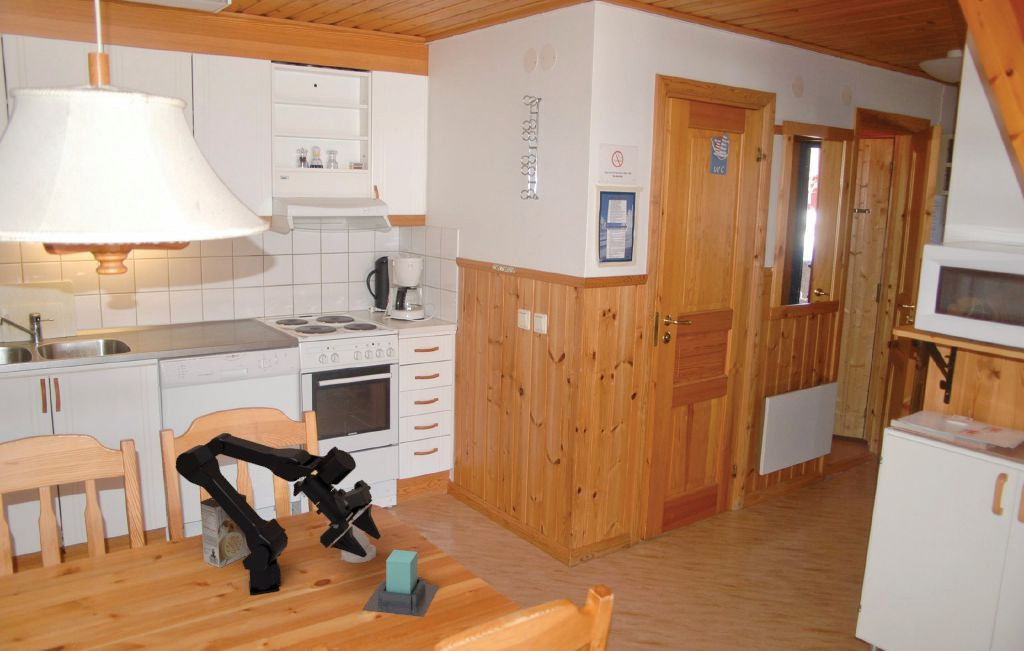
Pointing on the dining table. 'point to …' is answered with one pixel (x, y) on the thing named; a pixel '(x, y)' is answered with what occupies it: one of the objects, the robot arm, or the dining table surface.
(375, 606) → the socket holder
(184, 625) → the dining table surface
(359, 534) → the wall hook
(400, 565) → the teal block
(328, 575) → the dining table surface
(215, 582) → the dining table surface
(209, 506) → the coffee box
